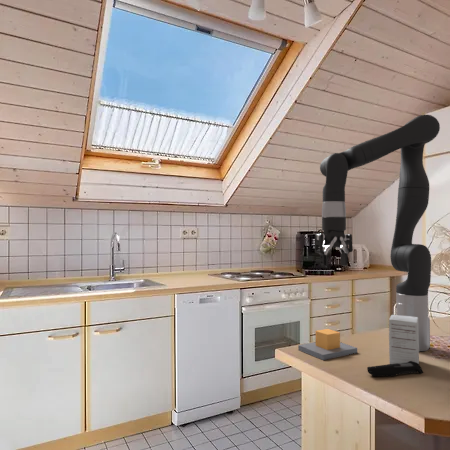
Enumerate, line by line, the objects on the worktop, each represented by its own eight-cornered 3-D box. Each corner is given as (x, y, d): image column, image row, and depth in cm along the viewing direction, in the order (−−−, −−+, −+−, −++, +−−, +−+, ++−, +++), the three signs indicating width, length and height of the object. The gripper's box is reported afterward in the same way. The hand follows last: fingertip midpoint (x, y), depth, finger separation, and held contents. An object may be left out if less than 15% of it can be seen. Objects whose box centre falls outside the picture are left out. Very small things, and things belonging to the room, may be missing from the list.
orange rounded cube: (327, 343, 121) (327, 328, 121) (340, 347, 117) (339, 332, 117) (315, 345, 119) (315, 330, 119) (327, 350, 114) (327, 334, 114)
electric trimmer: (363, 376, 99) (363, 363, 99) (413, 369, 103) (413, 358, 103) (372, 381, 95) (372, 369, 95) (424, 375, 99) (424, 362, 99)
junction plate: (331, 343, 126) (331, 330, 126) (357, 352, 116) (357, 338, 116) (298, 349, 119) (298, 335, 119) (322, 360, 110) (322, 344, 110)
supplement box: (391, 356, 113) (391, 314, 113) (419, 360, 109) (419, 316, 109) (388, 364, 106) (388, 318, 107) (418, 368, 103) (417, 322, 103)
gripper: (341, 217, 130) (341, 264, 129) (309, 216, 123) (309, 266, 122) (358, 216, 123) (358, 266, 123) (325, 215, 116) (325, 268, 116)
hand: (334, 266), depth 123 cm, fingers open, 8 cm apart
